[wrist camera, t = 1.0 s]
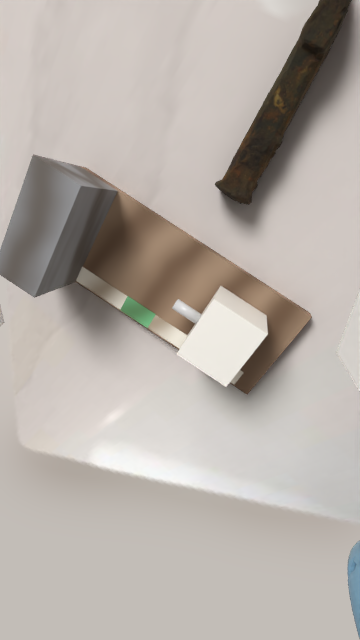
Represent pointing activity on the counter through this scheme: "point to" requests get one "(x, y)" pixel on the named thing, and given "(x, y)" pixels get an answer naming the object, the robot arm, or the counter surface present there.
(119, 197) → the gauge board
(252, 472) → the counter surface
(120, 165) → the counter surface
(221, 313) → the gauge slider
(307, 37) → the hand tool
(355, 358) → the robot arm
